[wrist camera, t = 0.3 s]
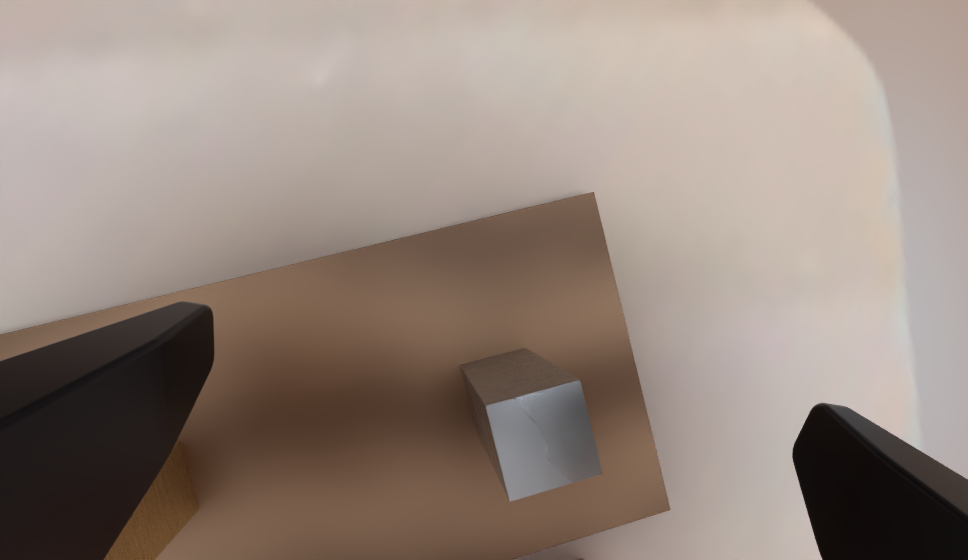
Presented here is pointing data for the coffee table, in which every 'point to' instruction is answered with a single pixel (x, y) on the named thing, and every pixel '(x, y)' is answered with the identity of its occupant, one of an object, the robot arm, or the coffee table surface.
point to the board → (401, 395)
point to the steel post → (531, 422)
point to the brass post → (159, 512)
